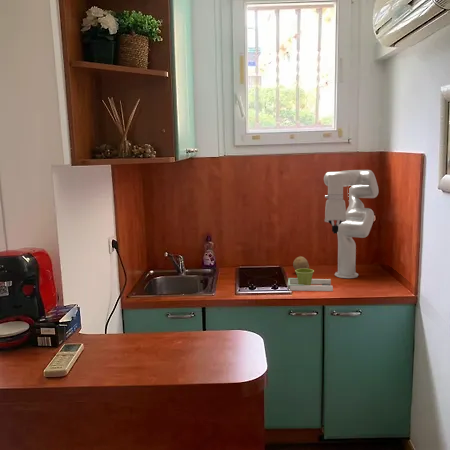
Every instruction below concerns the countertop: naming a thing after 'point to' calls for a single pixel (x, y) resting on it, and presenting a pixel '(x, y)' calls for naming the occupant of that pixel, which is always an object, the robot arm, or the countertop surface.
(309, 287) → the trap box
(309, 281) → the plant pot
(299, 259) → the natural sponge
